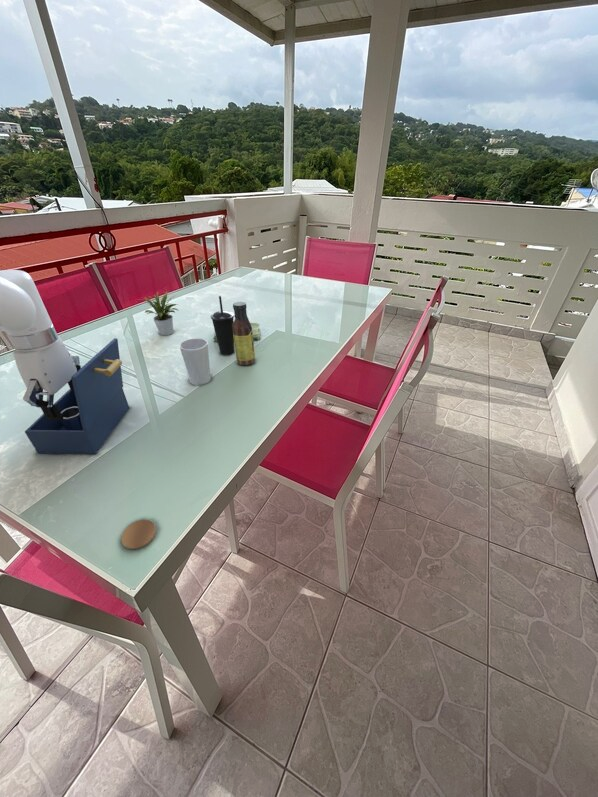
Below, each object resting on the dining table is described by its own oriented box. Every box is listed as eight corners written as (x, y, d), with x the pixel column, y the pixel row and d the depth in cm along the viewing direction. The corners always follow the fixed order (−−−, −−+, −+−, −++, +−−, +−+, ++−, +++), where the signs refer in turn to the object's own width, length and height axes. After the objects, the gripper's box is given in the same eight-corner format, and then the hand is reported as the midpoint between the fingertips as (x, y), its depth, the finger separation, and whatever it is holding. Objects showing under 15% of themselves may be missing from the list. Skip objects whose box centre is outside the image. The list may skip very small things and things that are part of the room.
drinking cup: (212, 356, 114) (203, 299, 103) (220, 346, 121) (213, 291, 109) (233, 358, 113) (227, 300, 102) (240, 348, 120) (235, 293, 108)
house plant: (151, 344, 122) (139, 300, 112) (139, 332, 130) (127, 291, 121) (188, 334, 129) (180, 293, 120) (174, 324, 138) (166, 284, 128)
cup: (218, 376, 103) (213, 341, 96) (202, 388, 97) (195, 352, 91) (198, 370, 106) (191, 336, 99) (181, 382, 100) (173, 346, 93)
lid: (70, 376, 63) (94, 380, 63) (114, 338, 78) (133, 341, 78) (83, 430, 71) (103, 433, 71) (120, 385, 85) (137, 388, 86)
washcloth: (261, 341, 125) (260, 333, 123) (213, 343, 123) (212, 335, 121) (259, 327, 136) (259, 320, 134) (215, 329, 133) (214, 322, 132)
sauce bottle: (258, 363, 110) (254, 305, 99) (240, 368, 108) (234, 308, 96) (250, 355, 115) (245, 299, 104) (233, 359, 112) (226, 302, 101)
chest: (37, 453, 75) (24, 431, 71) (81, 407, 89) (71, 386, 86) (95, 454, 75) (85, 432, 71) (129, 407, 89) (122, 387, 86)
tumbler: (71, 442, 77) (60, 421, 73) (69, 432, 80) (58, 411, 76) (93, 435, 79) (83, 413, 75) (90, 425, 82) (80, 404, 78)
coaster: (126, 556, 55) (125, 554, 55) (118, 531, 59) (117, 530, 59) (160, 538, 58) (159, 536, 58) (150, 515, 62) (150, 514, 61)
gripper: (43, 320, 72) (73, 385, 82) (-19, 357, 58) (26, 431, 68) (77, 320, 72) (103, 385, 82) (23, 358, 58) (62, 431, 68)
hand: (68, 406), depth 75 cm, fingers open, 9 cm apart
